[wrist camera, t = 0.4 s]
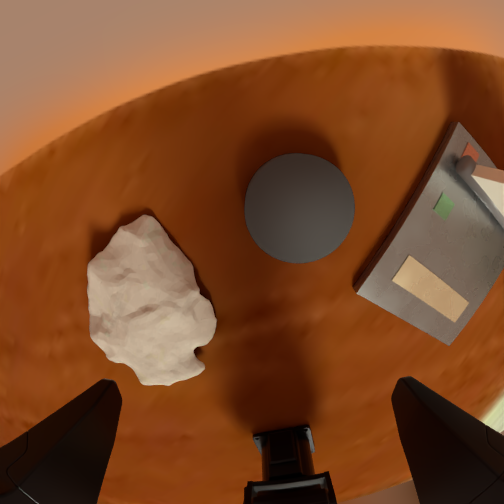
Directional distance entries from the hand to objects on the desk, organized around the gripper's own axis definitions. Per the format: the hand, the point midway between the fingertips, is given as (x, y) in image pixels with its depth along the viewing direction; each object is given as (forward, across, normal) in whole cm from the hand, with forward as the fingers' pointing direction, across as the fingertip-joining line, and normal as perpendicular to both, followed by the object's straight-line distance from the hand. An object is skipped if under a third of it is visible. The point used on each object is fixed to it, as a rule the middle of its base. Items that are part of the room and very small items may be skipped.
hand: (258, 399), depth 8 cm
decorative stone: (+14, +8, +5) cm, 17 cm away
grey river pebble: (+14, -3, -3) cm, 15 cm away
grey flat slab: (+14, -18, 0) cm, 23 cm away
